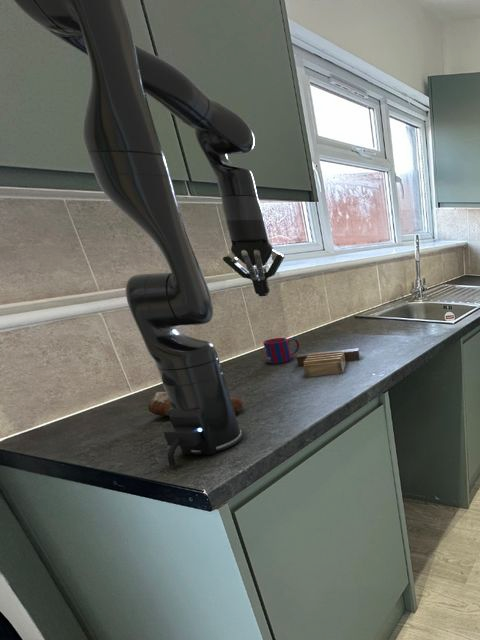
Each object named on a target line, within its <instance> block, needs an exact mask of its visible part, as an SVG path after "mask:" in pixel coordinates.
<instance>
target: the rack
mask: <svg viewBox="0 0 480 640" xmlns="http://www.w3.org/2000/svg"><path fill="white" fill-rule="evenodd" d="M334 351H335V352H327V351H324V352H325V353H316V352H314V353H315V354H308V356H307V357H306V358H307V359H305V361H304V362H303V363H304V366H303V370H304V375H305V378H312V377H320V376H321V377H323V376H330V375H338V374H340V375H341V374H344V371H345V368H346V365H347V361H346V360H345V354H344V351H337V350H334Z"/></svg>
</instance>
